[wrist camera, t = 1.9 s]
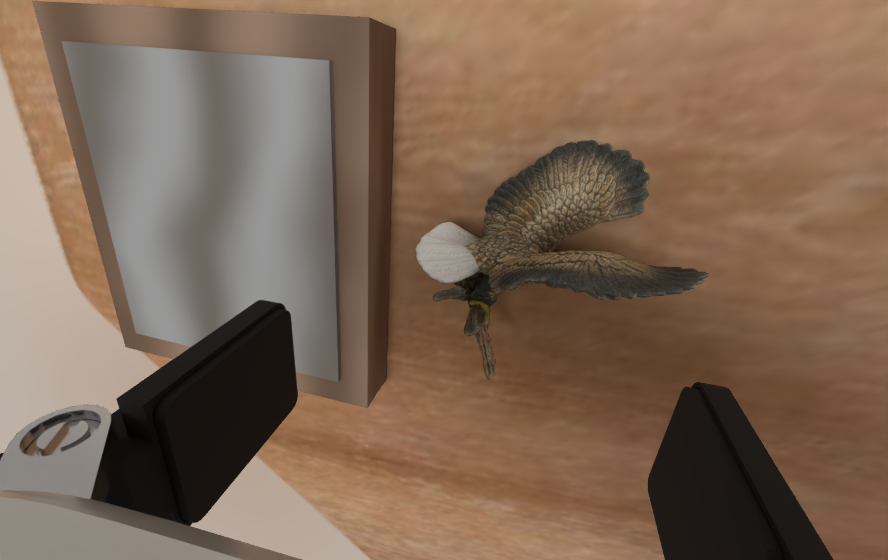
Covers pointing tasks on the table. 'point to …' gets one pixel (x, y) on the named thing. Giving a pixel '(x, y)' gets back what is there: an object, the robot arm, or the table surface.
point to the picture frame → (236, 174)
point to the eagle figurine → (549, 237)
